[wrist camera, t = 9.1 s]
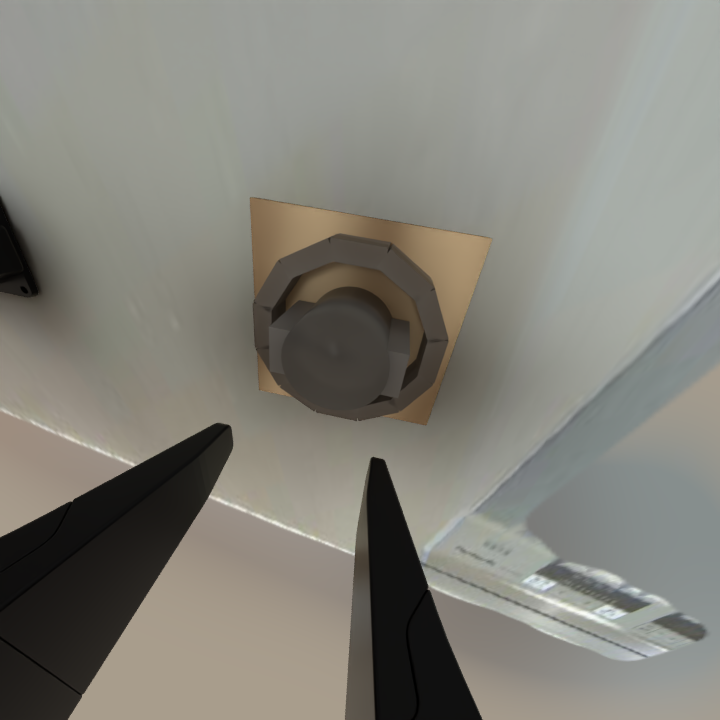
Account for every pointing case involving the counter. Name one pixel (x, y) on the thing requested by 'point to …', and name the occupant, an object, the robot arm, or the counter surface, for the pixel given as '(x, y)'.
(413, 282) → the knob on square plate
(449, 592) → the counter surface
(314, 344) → the cap
